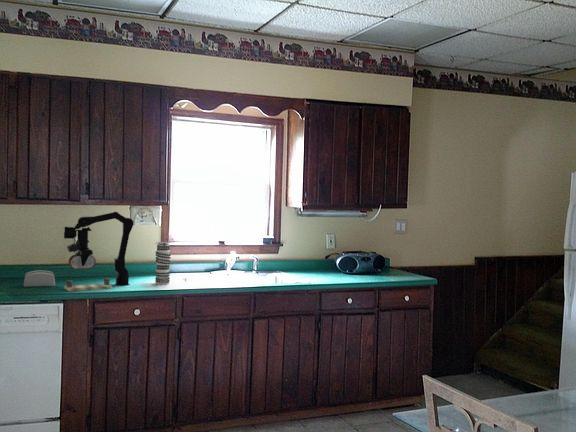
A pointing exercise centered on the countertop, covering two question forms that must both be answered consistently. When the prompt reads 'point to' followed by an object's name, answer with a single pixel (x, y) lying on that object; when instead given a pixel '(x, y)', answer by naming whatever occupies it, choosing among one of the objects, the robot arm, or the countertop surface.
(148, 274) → the countertop surface
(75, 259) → the tin
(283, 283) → the countertop surface
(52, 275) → the grey arched block
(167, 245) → the decorative candle
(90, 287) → the tan long piece
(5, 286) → the countertop surface
